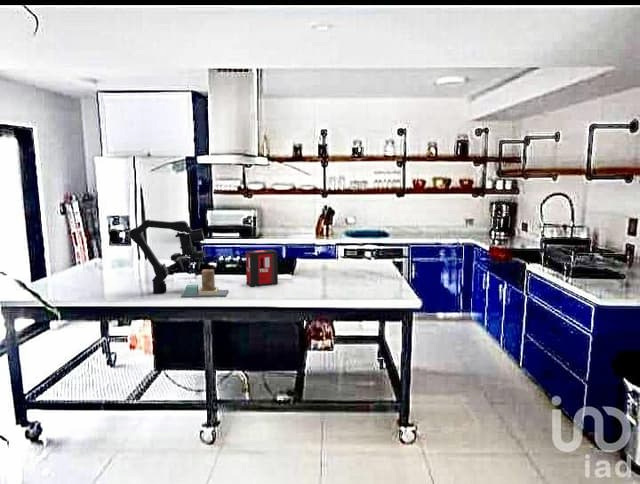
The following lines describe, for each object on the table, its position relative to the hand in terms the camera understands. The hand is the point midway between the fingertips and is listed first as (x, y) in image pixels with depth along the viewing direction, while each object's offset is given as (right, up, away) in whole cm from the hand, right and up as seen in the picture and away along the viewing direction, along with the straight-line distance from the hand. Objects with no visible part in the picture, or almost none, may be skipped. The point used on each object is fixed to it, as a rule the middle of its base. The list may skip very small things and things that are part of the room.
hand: (191, 270), depth 289 cm
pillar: (+11, -12, -7) cm, 18 cm away
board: (+9, -13, -6) cm, 17 cm away
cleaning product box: (+38, -10, +18) cm, 43 cm away
